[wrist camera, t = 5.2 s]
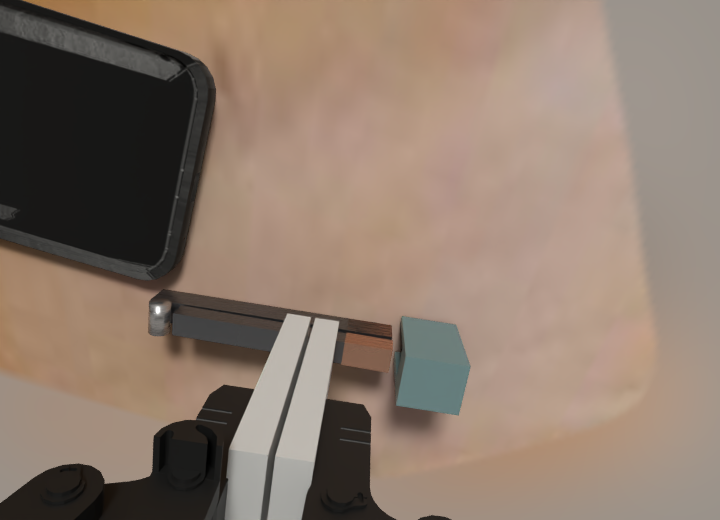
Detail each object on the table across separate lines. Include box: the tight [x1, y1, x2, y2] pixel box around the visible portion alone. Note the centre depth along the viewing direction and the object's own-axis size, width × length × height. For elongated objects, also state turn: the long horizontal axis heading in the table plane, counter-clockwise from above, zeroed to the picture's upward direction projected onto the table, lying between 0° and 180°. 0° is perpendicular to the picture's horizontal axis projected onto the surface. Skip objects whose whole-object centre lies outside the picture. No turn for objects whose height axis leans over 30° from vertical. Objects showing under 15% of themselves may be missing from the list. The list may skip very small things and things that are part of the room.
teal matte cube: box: [394, 316, 470, 415], centre depth 17 cm, size 2×2×3 cm
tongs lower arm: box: [151, 289, 392, 340], centre depth 18 cm, size 8×1×1 cm, turn 81°
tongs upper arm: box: [148, 298, 393, 373], centre depth 17 cm, size 8×1×1 cm, turn 81°
